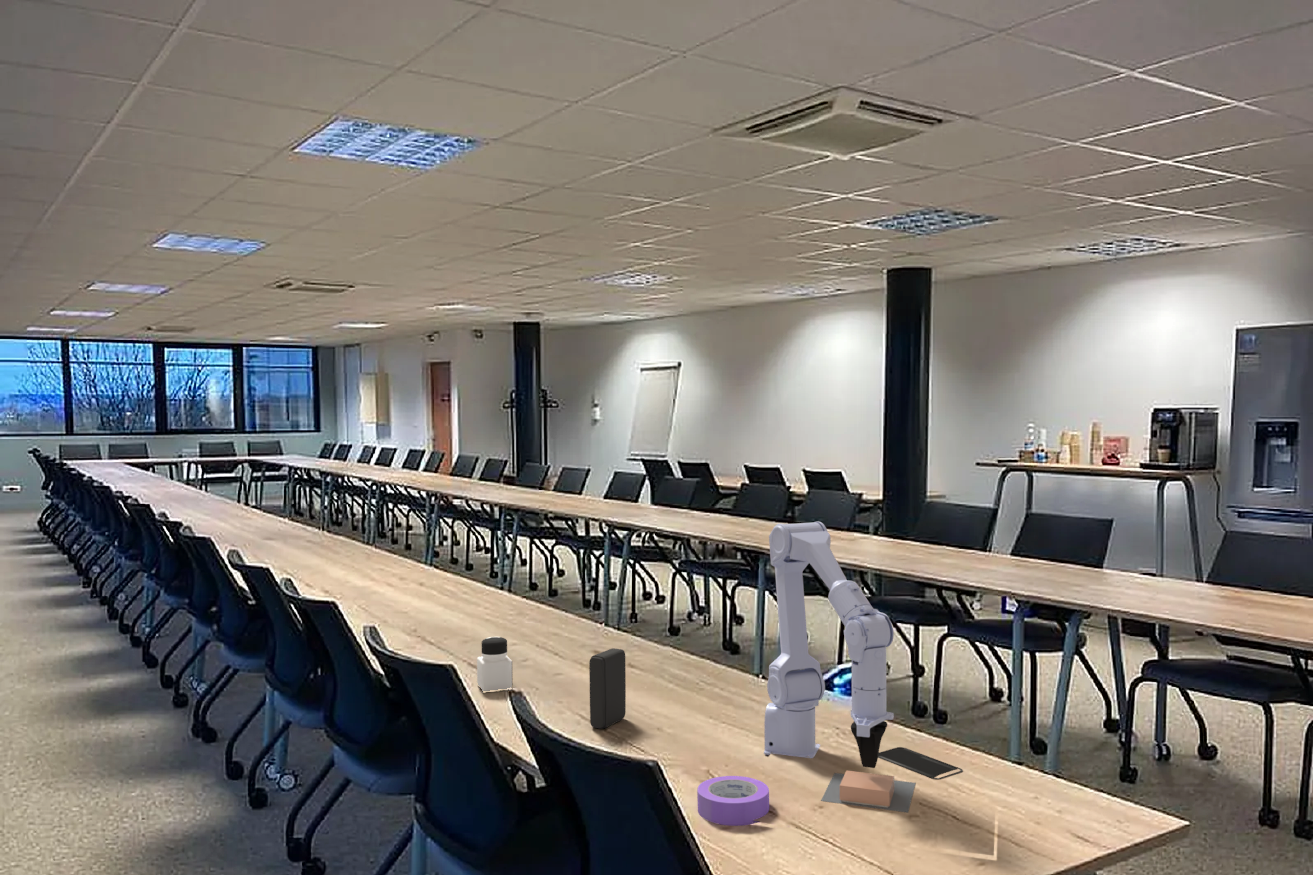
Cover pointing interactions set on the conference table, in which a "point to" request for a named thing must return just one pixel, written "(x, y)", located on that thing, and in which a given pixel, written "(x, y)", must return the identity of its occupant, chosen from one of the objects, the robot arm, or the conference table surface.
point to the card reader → (607, 688)
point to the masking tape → (733, 800)
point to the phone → (917, 762)
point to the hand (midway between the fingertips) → (869, 766)
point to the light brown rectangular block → (867, 788)
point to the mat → (898, 803)
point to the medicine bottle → (494, 665)
